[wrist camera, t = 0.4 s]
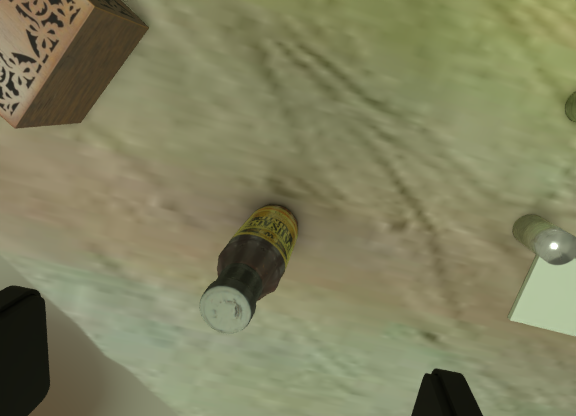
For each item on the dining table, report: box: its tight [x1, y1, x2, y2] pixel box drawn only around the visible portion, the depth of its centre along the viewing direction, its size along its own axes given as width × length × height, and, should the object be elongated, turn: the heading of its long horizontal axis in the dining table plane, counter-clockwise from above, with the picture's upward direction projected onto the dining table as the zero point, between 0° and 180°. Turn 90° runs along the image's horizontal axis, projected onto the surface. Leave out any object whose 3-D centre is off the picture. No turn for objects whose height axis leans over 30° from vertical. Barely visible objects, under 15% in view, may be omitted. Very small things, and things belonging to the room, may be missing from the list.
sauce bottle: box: [200, 205, 298, 334], centre depth 36 cm, size 7×6×20 cm
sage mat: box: [508, 255, 576, 336], centre depth 43 cm, size 10×10×1 cm
